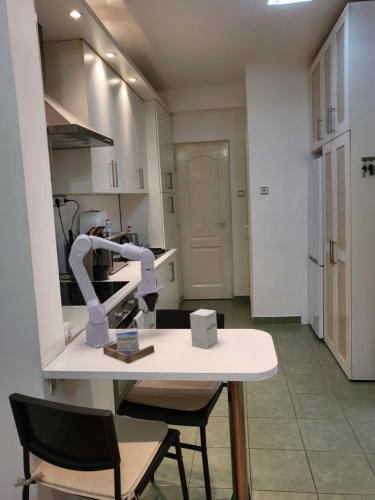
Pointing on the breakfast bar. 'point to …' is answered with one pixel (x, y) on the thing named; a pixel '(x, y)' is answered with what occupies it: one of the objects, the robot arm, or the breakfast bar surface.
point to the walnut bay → (112, 352)
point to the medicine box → (127, 341)
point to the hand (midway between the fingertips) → (151, 311)
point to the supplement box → (203, 328)
